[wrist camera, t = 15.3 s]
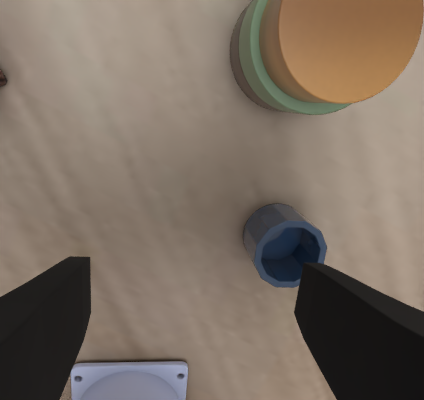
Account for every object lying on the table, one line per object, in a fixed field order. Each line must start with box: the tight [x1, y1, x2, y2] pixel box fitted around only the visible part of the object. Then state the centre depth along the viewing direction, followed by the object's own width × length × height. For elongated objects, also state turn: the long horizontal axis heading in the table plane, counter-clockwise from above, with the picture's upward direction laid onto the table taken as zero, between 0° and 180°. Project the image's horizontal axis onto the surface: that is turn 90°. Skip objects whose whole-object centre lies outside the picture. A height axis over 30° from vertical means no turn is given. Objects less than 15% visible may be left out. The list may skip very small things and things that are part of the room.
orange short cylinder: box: [259, 0, 424, 104], centre depth 13 cm, size 5×5×3 cm
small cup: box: [243, 204, 327, 288], centre depth 20 cm, size 4×4×3 cm
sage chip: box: [239, 0, 352, 115], centre depth 15 cm, size 6×6×2 cm
